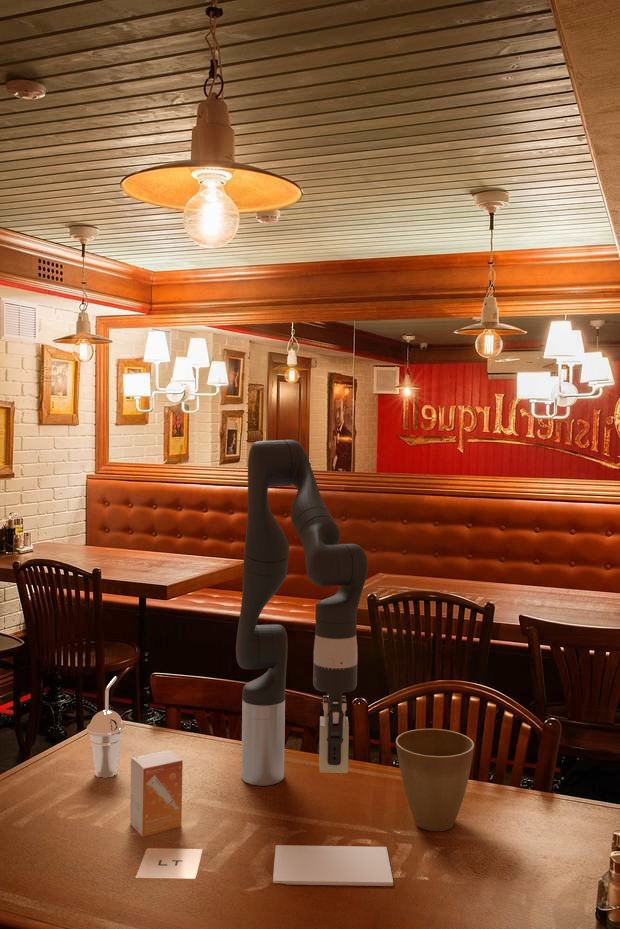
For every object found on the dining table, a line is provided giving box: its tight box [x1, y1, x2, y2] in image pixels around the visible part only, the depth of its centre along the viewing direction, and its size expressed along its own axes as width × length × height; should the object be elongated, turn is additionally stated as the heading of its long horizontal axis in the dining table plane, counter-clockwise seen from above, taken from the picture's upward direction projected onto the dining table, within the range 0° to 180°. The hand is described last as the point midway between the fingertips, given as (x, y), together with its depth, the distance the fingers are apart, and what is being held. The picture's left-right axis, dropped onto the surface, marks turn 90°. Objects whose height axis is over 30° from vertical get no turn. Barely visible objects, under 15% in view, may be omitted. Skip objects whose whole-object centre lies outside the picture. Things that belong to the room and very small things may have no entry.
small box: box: [129, 749, 184, 838], centre depth 160 cm, size 8×6×13 cm
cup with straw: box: [85, 675, 127, 779], centre depth 184 cm, size 8×9×20 cm
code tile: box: [135, 847, 204, 880], centre depth 146 cm, size 10×10×1 cm
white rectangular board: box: [272, 844, 394, 887], centre depth 146 cm, size 12×20×1 cm, turn 90°
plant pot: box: [395, 728, 475, 832], centre depth 163 cm, size 15×15×16 cm
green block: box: [318, 715, 350, 774], centre depth 145 cm, size 5×5×8 cm
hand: (333, 757), depth 146 cm, fingers closed on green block, 4 cm apart
